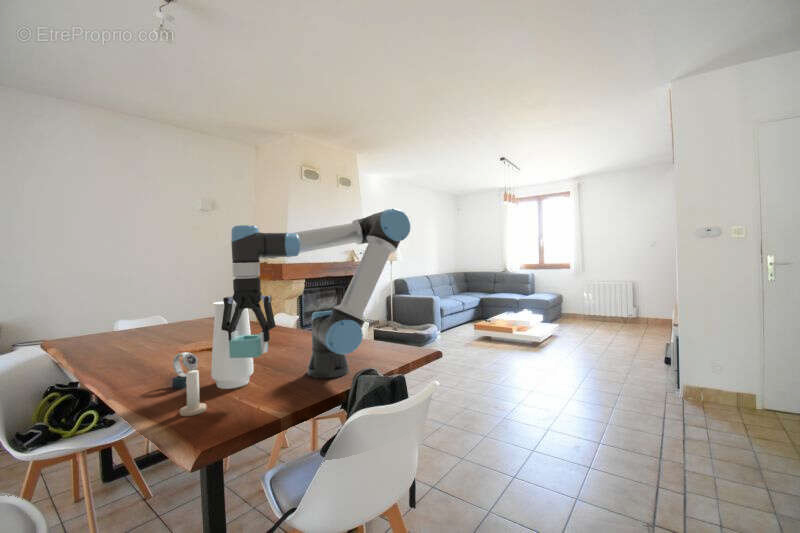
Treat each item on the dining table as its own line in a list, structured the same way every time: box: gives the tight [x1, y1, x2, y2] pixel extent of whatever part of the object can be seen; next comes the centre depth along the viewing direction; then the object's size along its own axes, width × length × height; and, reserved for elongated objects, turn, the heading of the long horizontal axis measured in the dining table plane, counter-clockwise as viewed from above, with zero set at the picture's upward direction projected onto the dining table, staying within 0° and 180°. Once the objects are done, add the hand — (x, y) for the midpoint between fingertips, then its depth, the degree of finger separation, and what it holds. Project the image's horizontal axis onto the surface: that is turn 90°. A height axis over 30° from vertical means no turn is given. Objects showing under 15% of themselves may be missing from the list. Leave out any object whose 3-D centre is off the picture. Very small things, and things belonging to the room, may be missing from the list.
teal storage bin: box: [229, 334, 269, 359], centre depth 104 cm, size 8×8×5 cm
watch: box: [172, 351, 199, 389], centre depth 118 cm, size 6×8×11 cm
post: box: [179, 369, 207, 417], centre depth 97 cm, size 6×6×11 cm
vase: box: [210, 300, 255, 390], centre depth 118 cm, size 13×13×28 cm
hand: (249, 352), depth 104 cm, fingers closed on teal storage bin, 8 cm apart
